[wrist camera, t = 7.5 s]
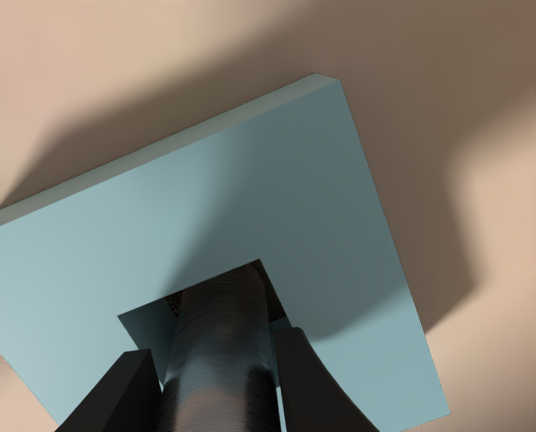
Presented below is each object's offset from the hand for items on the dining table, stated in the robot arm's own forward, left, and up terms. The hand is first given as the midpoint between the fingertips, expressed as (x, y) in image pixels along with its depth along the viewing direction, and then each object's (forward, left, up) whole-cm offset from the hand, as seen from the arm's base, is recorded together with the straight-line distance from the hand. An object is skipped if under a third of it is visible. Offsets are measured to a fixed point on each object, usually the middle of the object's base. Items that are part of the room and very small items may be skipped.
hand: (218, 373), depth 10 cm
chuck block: (0, 0, -4) cm, 4 cm away
